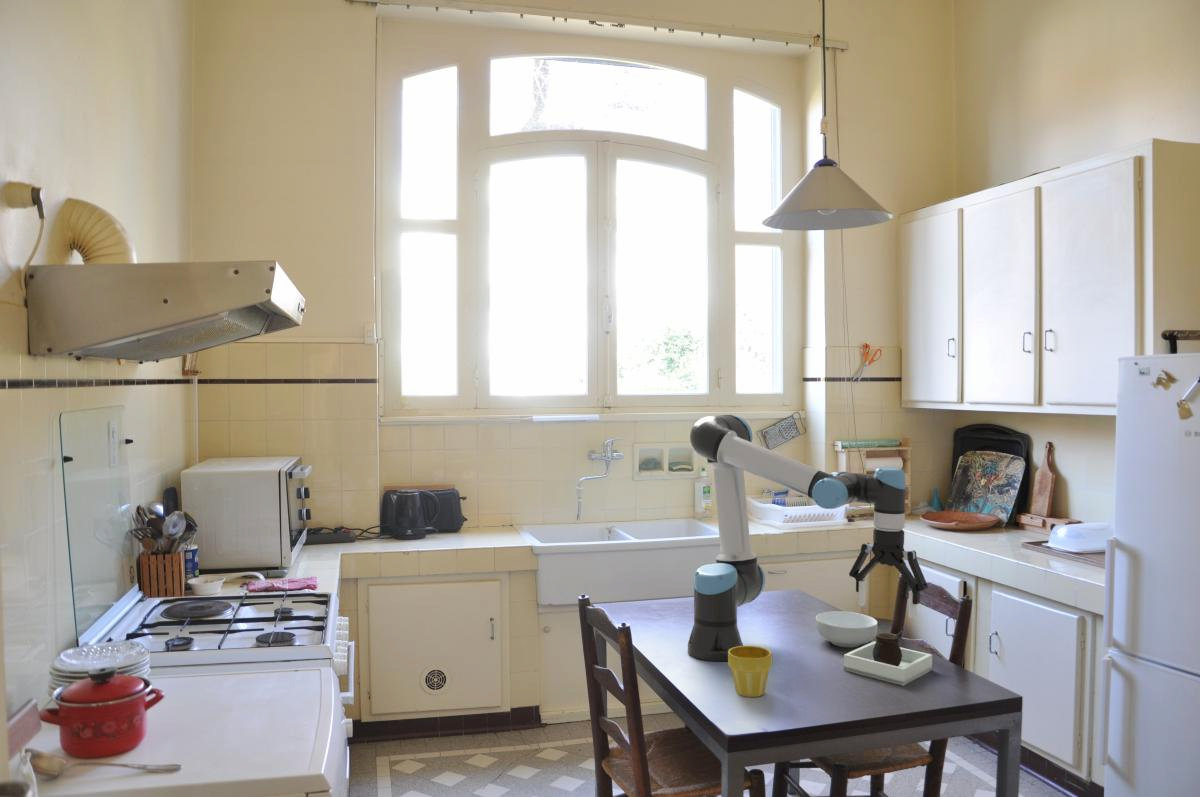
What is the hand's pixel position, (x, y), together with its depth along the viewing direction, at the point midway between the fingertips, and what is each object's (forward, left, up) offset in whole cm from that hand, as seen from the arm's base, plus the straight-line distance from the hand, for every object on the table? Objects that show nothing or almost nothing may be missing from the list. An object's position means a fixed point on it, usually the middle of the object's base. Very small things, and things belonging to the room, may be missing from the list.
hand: (886, 610), depth 219 cm
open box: (0, 0, -15) cm, 15 cm away
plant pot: (-38, +16, -16) cm, 44 cm away
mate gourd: (0, 0, -14) cm, 14 cm away
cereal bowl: (+13, +19, -16) cm, 27 cm away
